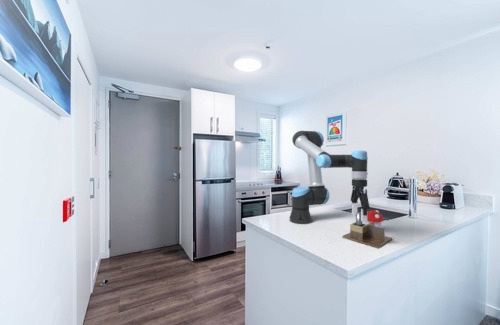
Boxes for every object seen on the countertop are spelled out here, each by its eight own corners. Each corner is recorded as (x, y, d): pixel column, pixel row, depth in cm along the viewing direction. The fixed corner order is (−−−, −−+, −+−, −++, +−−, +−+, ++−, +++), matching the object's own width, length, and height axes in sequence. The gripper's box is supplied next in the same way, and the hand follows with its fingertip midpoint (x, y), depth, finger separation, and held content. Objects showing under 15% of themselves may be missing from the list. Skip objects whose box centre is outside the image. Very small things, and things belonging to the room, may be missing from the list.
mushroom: (373, 234, 124) (373, 213, 123) (359, 228, 134) (359, 209, 134) (388, 232, 126) (388, 212, 126) (372, 226, 137) (372, 207, 137)
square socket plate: (342, 237, 118) (342, 224, 118) (358, 230, 129) (358, 218, 129) (377, 248, 104) (377, 233, 104) (392, 239, 115) (392, 225, 115)
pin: (355, 236, 117) (355, 212, 117) (357, 234, 119) (357, 211, 119) (360, 237, 115) (360, 213, 115) (363, 236, 117) (363, 212, 117)
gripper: (377, 181, 104) (377, 224, 104) (358, 177, 128) (357, 212, 129) (361, 181, 105) (360, 224, 105) (344, 176, 129) (344, 211, 130)
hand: (359, 217), depth 117 cm, fingers open, 13 cm apart
